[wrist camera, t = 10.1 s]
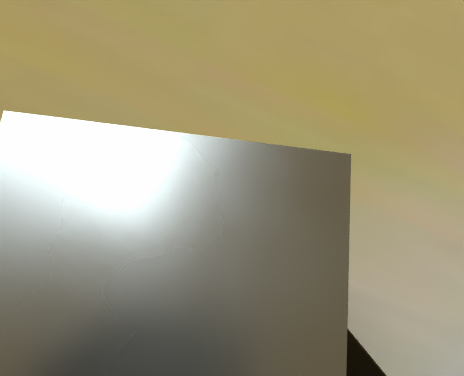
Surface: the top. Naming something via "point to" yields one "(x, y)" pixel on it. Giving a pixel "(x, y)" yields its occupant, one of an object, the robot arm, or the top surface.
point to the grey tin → (169, 253)
